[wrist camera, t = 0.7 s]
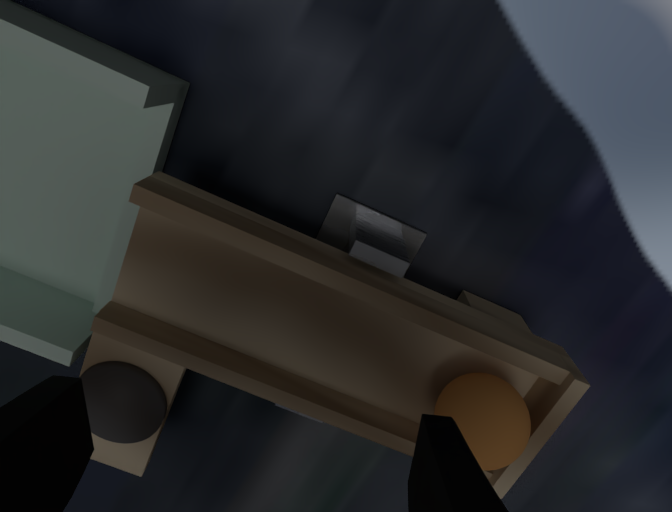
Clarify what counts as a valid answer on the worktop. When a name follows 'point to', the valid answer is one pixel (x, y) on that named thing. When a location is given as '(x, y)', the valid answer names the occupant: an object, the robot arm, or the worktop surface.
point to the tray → (70, 174)
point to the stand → (369, 239)
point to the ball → (487, 417)
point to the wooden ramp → (294, 333)
